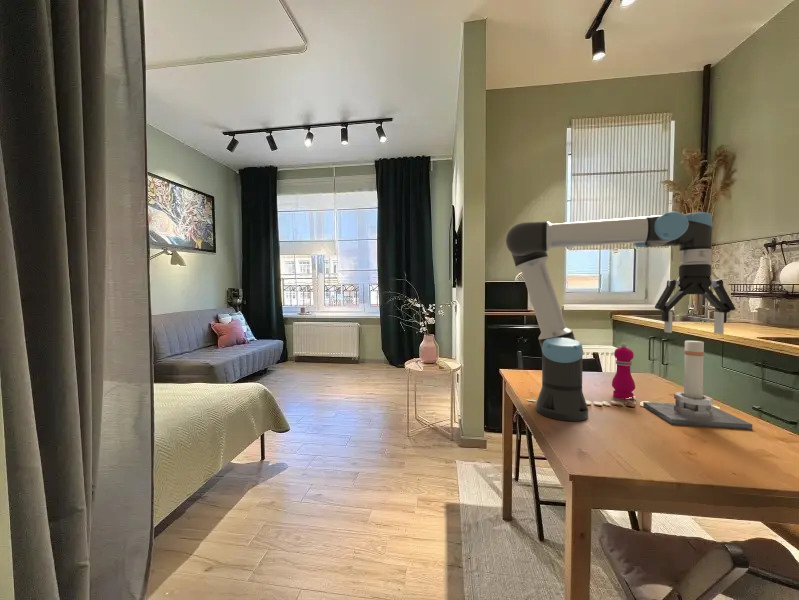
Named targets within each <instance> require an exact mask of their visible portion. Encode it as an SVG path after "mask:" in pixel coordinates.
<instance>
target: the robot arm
mask: <svg viewBox="0 0 799 600" xmlns="http://www.w3.org/2000/svg"><path fill="white" fill-rule="evenodd" d="M713 229H714V226H713V216H712V214H711V213H709V212H705V211H704V212H703V211H701V212H692V213H686V214H685V213H681V212H679V211H669V212H665V213H662V214H660V215H650V216H636V217H634V216H633V217H623V218H621V217H620V218H610V219H598V220H587V221H586V220H585V221H575V222H574V221H573V222H571V221H570V222H563V223H559V222H558V223H551V222H550V221H549V220H547V221H531V222H530V221H529V222H528V221H526V222H520V223H517V224H515V225H514V226H512V227H511V228H510V229H509V230H508V233H507V234H506V238H505V244H506V248H507V250H508V251H509V252H510V254H511V255H512V259H513V263H514V265H515V268H516V270H517V269H518V270H520V271H521V273H522V277H523V281H524V283H525V287H526V288H527V289H526V290H527V293H528V296H529V299H530V302H531V306H532V308H533V311H534V315H535V317H536V321H537V324H538V327H539V330H540V334H539V336H538V341H539V345H540V348H541V353H542V355H541V356H542V358H541V366H542V367H541V381H542V382H541V389H540V392H539V394H538V397H537V400H536V403H535V407H536V408H535V411H536V412H537V413H539V414H540V415H542V416H544V417H547V418H550V419H554V420H559V421H564V422H565V421H566V422H581V421H585V420H587V419H589V407H588V405H587V401H586V398H585V395H584V392H583V355H584V349H583V344H582V343H581V342H580V341H578V340H576V337H575V334H574V332H573V329H571V328H568V327H567V325H566V322H565V320H564V316H563V313H562V309H561V306H560V303H559V301H558V297H557V295H556V292H555V289H554V286H553V283H552V279H551V276H550V273H549V270H548V268H547V264H546V263H547V261H548V259H549V255H548V251H550V250H551V249H553V248H568V247H569V248H570V247H586V246H600V245H601V246H602V245H603V246H604V245H606V246H607V245H619V244H633V245H634V247H636V248H646V249H647V248H654V247H655V248H656V247H676V246H678V247H679V250H678V253H679V255H678V264H680V265H679V266H678V280H675V279H669V280H667V281H666V285H665V286H666V287H665V289H664V291H663V292H662V293H661V295H660V297H659V299H658V300H657V302H656V304H655V306H654V308H655V310H659V311H661V321H662V322H664V331H663V332H664V333H669V334H672V333H673V311H671V310H672V308H674V307H675V306H676V305H677V304H678V303H679V302H680V300H681V299H684V297H686V295H701V296H703V297H704V298H705V299H706V300H707V301H708V303H710V304H711V306H713V307H714V309H716V310H717V311H714V317H713V318H714V323H713V325H714V327H713V333H714V334H719V335H724V326H725V325H724V324H726V323H727V321H728V316H727V315H728V313H730V312H731V311H735V310H736V307H735V305H734V303H733V302H732V299H731V298H730V295H729V294H728V293H727V291H726V289H725V287H724V281H723V279H713V280H711V277H712V265H711V264H710V263H711V262H712V252H713V251H712V245H713V244H712V243H713V242H712V241H713ZM677 287H679V289H678V290H677V291H676V292H675V294H674V295H673V296H672V294H673V293H674V290H675V289H676V288H677ZM710 287H712V289H713V290H714V291H712V290H711V288H710ZM714 292H715V294H716V295H715V294H714ZM671 296H672V297H671ZM670 297H671V298H670Z"/></svg>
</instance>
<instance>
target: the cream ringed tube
mask: <svg viewBox="0 0 799 600" xmlns="http://www.w3.org/2000/svg"><path fill="white" fill-rule="evenodd" d="M704 344H705V342H704V341H701V340H685V341H684V350H683V351H684V361H683V362H684V363H683V364H684V366H683V367H684V370H683V371H684V372H683V374H684V375H683V392H684V397H688V398H693V399H703V395H704V394H703V393H704V356H705V351H704V349H705V347H704V346H705V345H704ZM684 408H686V409H691V410H696V405H693V404H689V403H684Z"/></svg>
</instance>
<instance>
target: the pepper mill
mask: <svg viewBox="0 0 799 600" xmlns="http://www.w3.org/2000/svg"><path fill="white" fill-rule="evenodd" d="M620 346H621V347H618V348H616V349H615V350H614V352H613V354H614V358H615V365H616V372H615V374H614V376H613V378H612V381H611V386H612V388H613V389H614V390H613V392H612V393H613V394H612V395H613V397H614V398H616V399H620V400H626V399H625V398H629V397H632V398H633V399H634V396H635V395H634V392H633V391H635V389H636V383H635V380H634V378H633V376H632V372H631V367H632V365H633V364H632V363H633V361H632V360H633V359H634V352H633V350H632V349H630V348H628V346H627V343H621V344H620Z"/></svg>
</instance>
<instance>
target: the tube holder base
mask: <svg viewBox="0 0 799 600" xmlns="http://www.w3.org/2000/svg"><path fill="white" fill-rule="evenodd" d="M673 398H674V400H675V403H670V402H669V403H668V402H650V401H643V402H642V403H643V408H645V409H646V410H648V411H650V412H652V413H654V414H655V415H656V416H657V417H659V418H661V419H663V420H664V421H666V422H667V423H668V424H671V425H676V426H691V427H692V426H693V427H694V426H695V427H708V428H721V429H724V428H725V429H737V430H750V429H752V430H753V424H752V423H750V422H749V421H747V420H744V419H741V418H740V417H737V416H735V415H733V414H732V413H729V412H727V411H724V410H722V409H721V408H720V409H719V408H717V407H716V406H713V404H714V403H713V402H714V399H713V398H712V397H710V396H709V395H708V396H707V395H705V394H703V399H693V398H688V397H684V391H677V392H675V393H674V394H673ZM684 403H689V404H693V405H696V410H691V409H686V408H684Z"/></svg>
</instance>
